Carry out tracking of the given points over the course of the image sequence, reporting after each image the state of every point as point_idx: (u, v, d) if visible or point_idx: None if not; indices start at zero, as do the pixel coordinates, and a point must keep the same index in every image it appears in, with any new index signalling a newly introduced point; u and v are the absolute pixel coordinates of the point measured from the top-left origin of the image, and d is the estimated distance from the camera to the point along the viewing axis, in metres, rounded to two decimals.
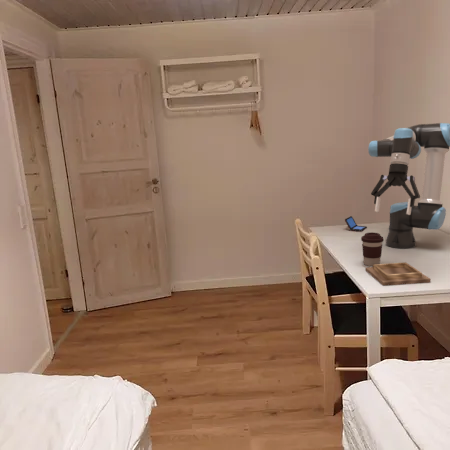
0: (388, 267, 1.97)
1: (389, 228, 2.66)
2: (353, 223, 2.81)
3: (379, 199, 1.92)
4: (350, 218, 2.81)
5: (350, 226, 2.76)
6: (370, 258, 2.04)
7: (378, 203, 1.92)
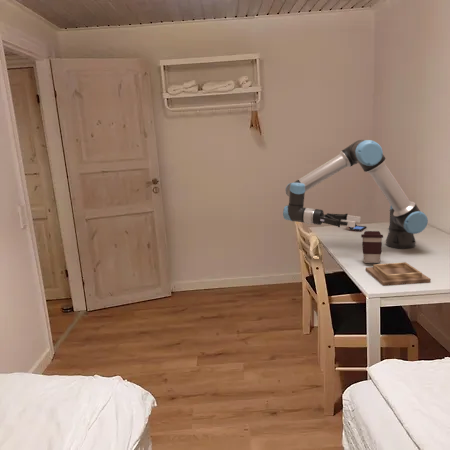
0: (388, 267, 1.97)
1: (389, 228, 2.66)
2: None
3: (348, 218, 2.15)
4: None
5: None
6: (370, 254, 2.05)
7: (352, 219, 2.15)
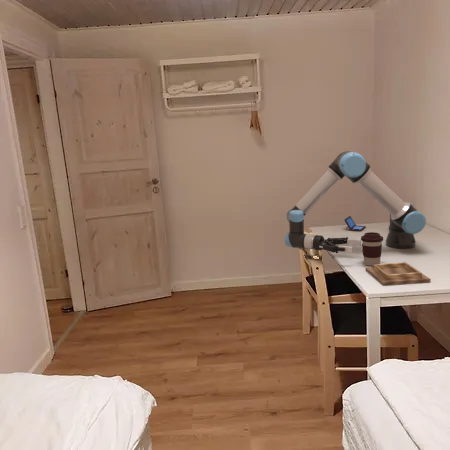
0: (388, 267, 1.97)
1: None
2: (352, 223, 2.81)
3: (349, 241, 2.18)
4: (349, 218, 2.81)
5: (350, 226, 2.76)
6: (370, 257, 2.04)
7: (352, 242, 2.18)
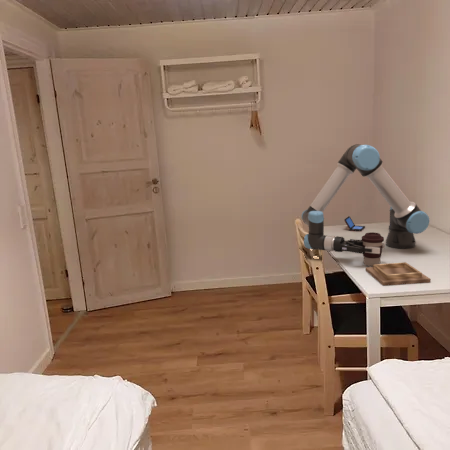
0: (388, 267, 1.97)
1: None
2: (351, 223, 2.81)
3: None
4: (348, 218, 2.81)
5: (349, 226, 2.76)
6: (370, 258, 2.04)
7: None
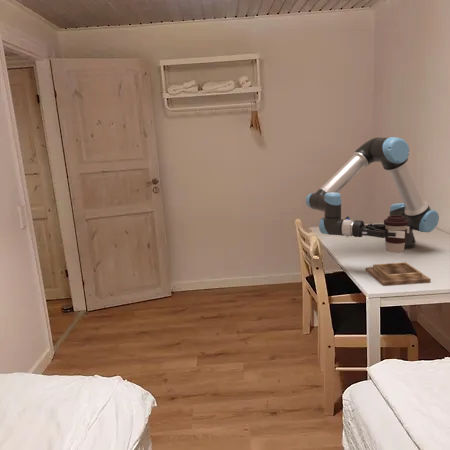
0: (388, 267, 1.97)
1: None
2: None
3: None
4: (347, 218, 2.82)
5: None
6: (394, 243, 1.85)
7: None
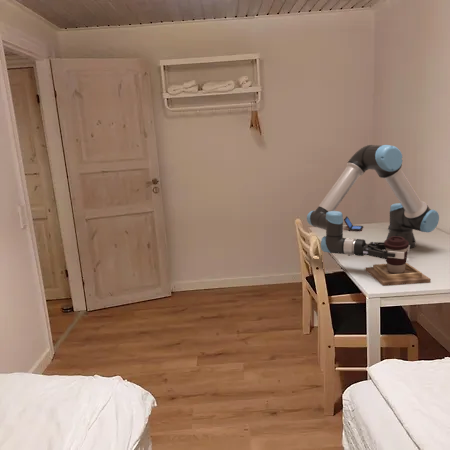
0: None
1: None
2: (350, 223, 2.82)
3: None
4: (347, 218, 2.82)
5: (349, 226, 2.76)
6: (395, 265, 1.88)
7: None
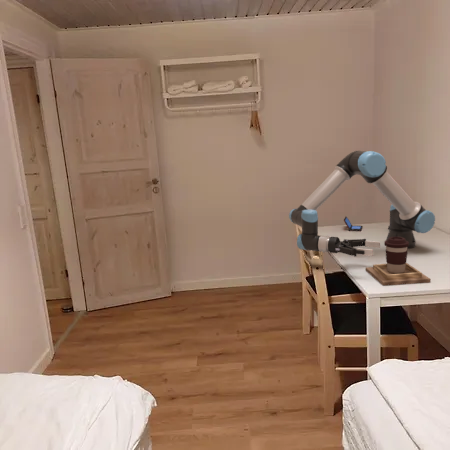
0: None
1: None
2: (349, 223, 2.82)
3: (367, 243, 2.01)
4: (346, 218, 2.82)
5: (349, 226, 2.76)
6: (395, 264, 1.88)
7: (371, 245, 2.00)
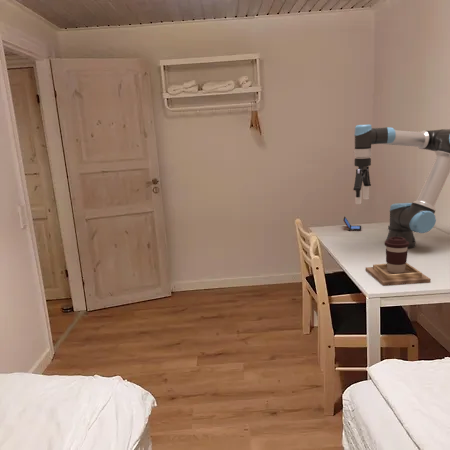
0: None
1: None
2: (348, 223, 2.82)
3: (366, 188, 2.17)
4: (345, 218, 2.82)
5: (348, 226, 2.76)
6: (395, 264, 1.88)
7: (365, 191, 2.18)
